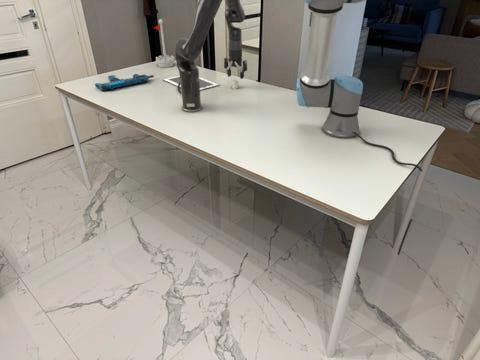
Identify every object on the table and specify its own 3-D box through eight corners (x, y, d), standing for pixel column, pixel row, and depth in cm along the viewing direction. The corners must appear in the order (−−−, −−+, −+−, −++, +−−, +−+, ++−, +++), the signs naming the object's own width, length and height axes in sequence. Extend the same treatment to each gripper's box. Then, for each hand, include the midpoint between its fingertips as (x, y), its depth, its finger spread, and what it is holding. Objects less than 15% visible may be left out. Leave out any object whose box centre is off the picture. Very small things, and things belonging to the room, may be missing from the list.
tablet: (162, 79, 213) (162, 79, 213) (189, 73, 224) (189, 73, 224) (191, 92, 193) (191, 91, 192) (219, 85, 204) (219, 84, 203)
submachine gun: (139, 68, 225) (158, 74, 208) (140, 74, 226) (158, 80, 210) (87, 78, 206) (103, 86, 189) (89, 84, 208) (104, 92, 191)
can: (237, 86, 202) (237, 79, 200) (238, 88, 199) (238, 81, 197) (231, 87, 201) (231, 80, 199) (232, 89, 198) (232, 81, 196)
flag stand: (173, 62, 250) (168, 17, 234) (176, 66, 240) (172, 20, 223) (155, 63, 246) (149, 18, 230) (158, 68, 236) (152, 21, 219)
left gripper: (249, 48, 187) (249, 77, 196) (228, 45, 193) (229, 74, 202) (242, 50, 182) (242, 81, 191) (220, 47, 188) (221, 77, 197)
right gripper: (305, -25, 160) (301, 24, 172) (325, -22, 139) (318, 33, 151) (320, -25, 161) (315, 24, 173) (342, -22, 140) (334, 33, 152)
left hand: (235, 77), depth 196 cm, fingers open, 8 cm apart
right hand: (316, 28), depth 162 cm, fingers open, 13 cm apart
